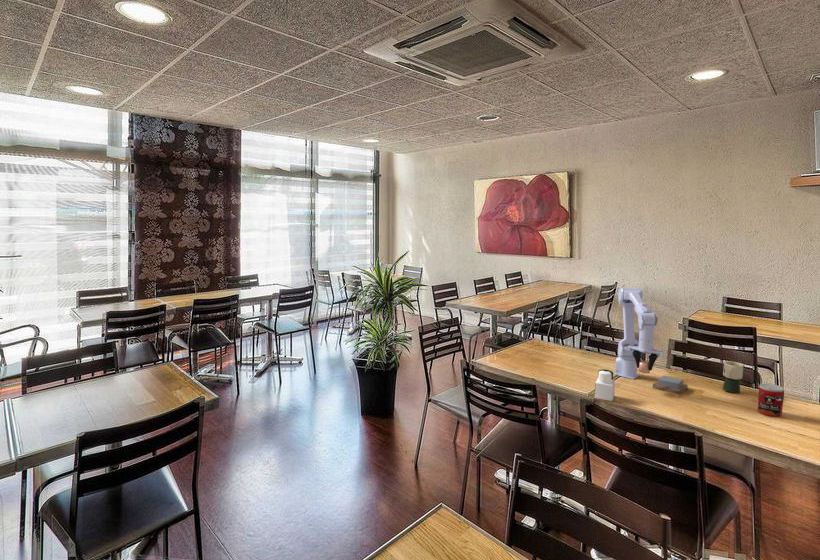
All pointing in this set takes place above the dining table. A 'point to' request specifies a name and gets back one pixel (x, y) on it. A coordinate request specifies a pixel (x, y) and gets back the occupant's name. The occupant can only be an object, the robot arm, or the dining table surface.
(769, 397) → the canned food
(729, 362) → the character mug
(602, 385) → the medicine bottle
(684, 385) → the base slab
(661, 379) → the top slab
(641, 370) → the egg
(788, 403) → the dining table surface
